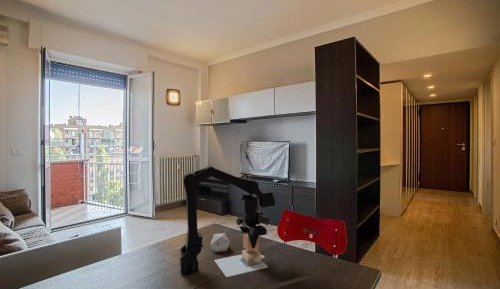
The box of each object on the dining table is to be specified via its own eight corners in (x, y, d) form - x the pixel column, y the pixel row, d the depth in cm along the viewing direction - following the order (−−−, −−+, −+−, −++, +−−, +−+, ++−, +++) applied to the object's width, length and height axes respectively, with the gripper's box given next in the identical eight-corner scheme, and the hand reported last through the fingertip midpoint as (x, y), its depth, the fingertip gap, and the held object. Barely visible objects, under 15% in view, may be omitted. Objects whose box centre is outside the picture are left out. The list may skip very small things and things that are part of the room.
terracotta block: (248, 251, 109) (247, 236, 109) (243, 247, 114) (243, 233, 114) (258, 249, 111) (258, 235, 111) (253, 245, 116) (253, 231, 116)
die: (206, 252, 126) (207, 240, 120) (216, 238, 133) (217, 225, 127) (222, 260, 124) (224, 248, 118) (231, 245, 131) (233, 233, 125)
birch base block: (247, 265, 108) (247, 255, 108) (242, 259, 114) (241, 250, 114) (260, 262, 111) (260, 253, 111) (254, 256, 116) (254, 247, 116)
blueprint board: (226, 279, 99) (226, 276, 99) (214, 262, 114) (214, 260, 114) (268, 269, 107) (268, 267, 107) (251, 254, 121) (251, 252, 121)
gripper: (278, 212, 107) (278, 250, 107) (257, 202, 124) (258, 236, 124) (253, 215, 103) (253, 255, 103) (235, 205, 120) (236, 239, 120)
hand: (250, 245), depth 112 cm, fingers closed on terracotta block, 5 cm apart
